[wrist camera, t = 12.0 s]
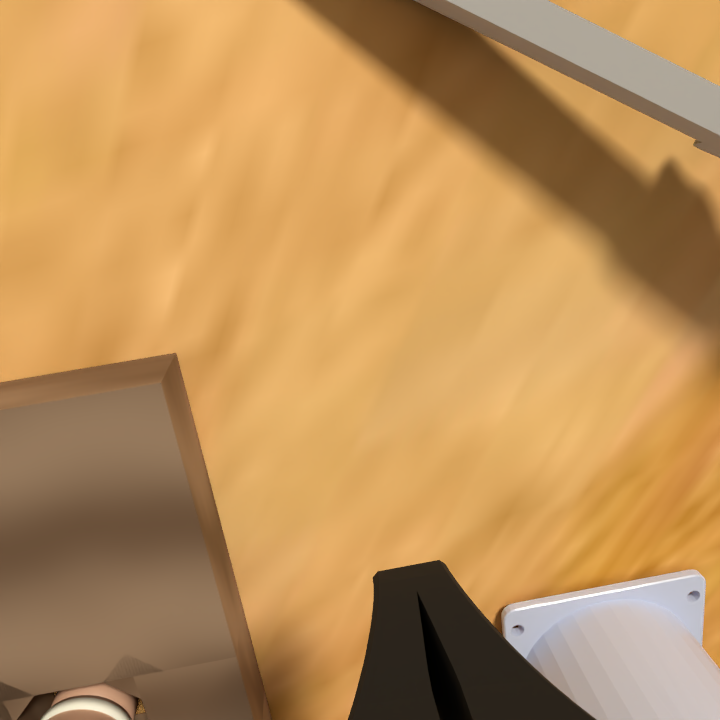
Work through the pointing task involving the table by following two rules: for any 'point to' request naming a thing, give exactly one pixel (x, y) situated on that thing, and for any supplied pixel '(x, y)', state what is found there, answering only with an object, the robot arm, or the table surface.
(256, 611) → the table surface
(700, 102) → the caliper
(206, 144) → the table surface
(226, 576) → the board
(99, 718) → the peg
